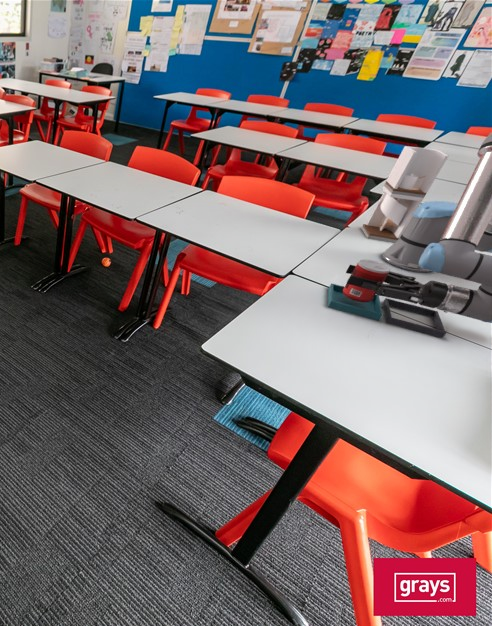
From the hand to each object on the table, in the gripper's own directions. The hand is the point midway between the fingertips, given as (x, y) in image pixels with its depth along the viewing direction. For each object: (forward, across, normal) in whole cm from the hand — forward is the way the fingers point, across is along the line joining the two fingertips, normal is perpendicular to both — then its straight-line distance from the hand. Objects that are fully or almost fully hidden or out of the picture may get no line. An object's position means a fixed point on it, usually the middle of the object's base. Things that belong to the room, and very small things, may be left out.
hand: (348, 273), depth 130 cm
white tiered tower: (-17, +74, -9) cm, 77 cm away
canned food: (-5, 0, -7) cm, 8 cm away
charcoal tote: (-20, 0, -9) cm, 22 cm away
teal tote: (-5, 0, -9) cm, 11 cm away
